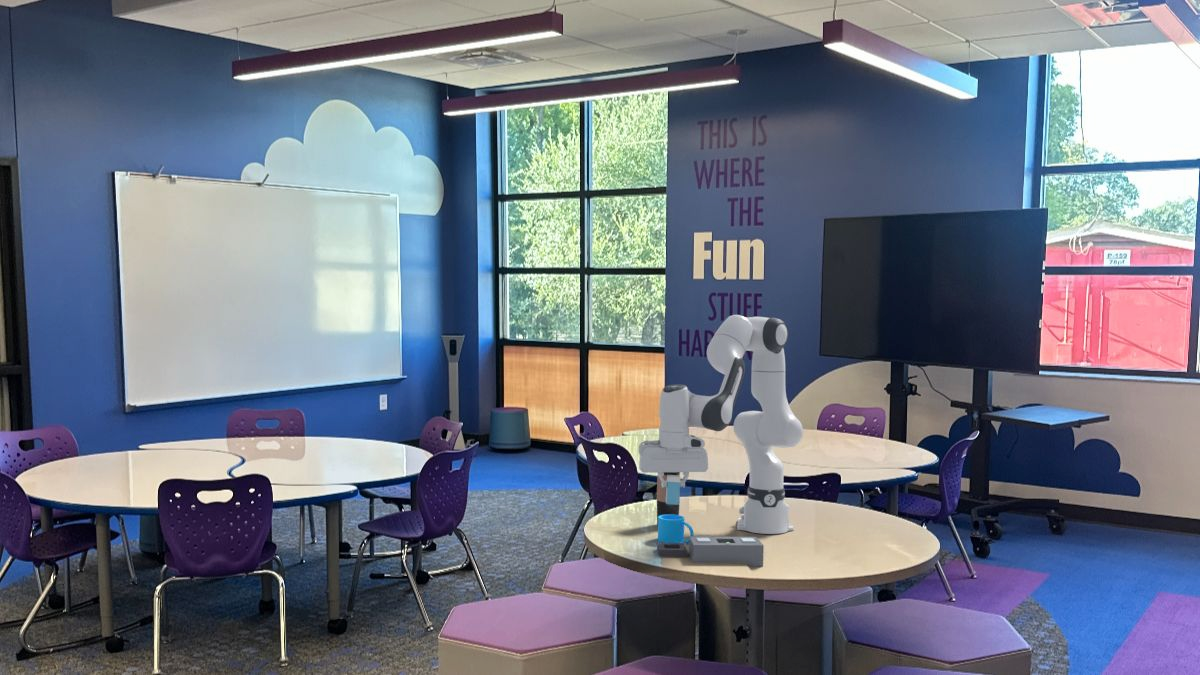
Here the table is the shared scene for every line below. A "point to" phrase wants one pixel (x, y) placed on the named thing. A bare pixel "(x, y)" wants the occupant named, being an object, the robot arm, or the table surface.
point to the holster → (672, 549)
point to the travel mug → (661, 498)
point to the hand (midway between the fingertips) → (673, 487)
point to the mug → (672, 529)
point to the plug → (673, 489)
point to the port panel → (726, 550)
